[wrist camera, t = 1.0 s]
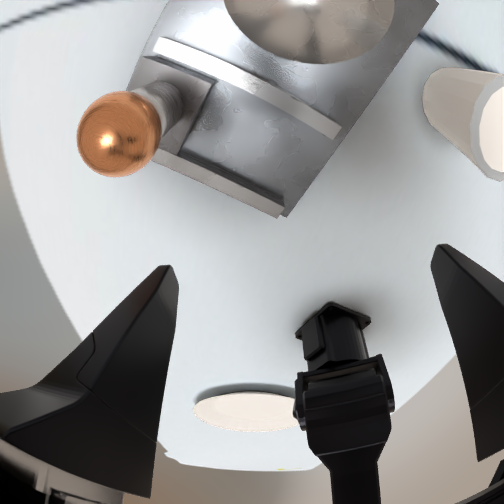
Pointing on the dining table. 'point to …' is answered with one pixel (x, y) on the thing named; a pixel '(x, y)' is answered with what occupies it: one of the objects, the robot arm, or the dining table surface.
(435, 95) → the white cup
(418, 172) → the dining table surface
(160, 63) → the press lever
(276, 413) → the plate
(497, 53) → the dining table surface
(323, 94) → the base
